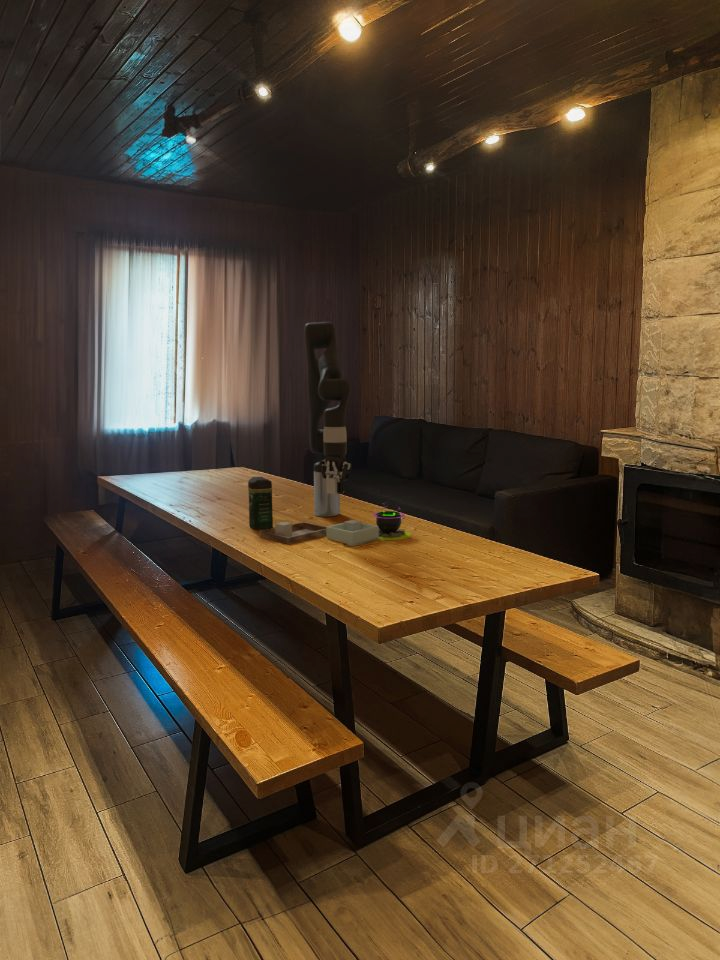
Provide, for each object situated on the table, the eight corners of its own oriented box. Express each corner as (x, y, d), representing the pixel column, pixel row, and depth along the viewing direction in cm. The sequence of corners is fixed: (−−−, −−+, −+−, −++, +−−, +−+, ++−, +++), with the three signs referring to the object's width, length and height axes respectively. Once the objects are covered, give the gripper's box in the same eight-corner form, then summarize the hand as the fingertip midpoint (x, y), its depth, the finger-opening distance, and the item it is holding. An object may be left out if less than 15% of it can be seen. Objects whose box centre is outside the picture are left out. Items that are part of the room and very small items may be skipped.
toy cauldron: (416, 532, 246) (416, 501, 244) (401, 542, 232) (401, 509, 230) (377, 528, 252) (376, 498, 250) (359, 538, 238) (359, 505, 236)
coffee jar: (275, 530, 250) (274, 478, 247) (253, 532, 247) (252, 479, 244) (268, 524, 258) (267, 474, 255) (247, 526, 255) (245, 476, 252)
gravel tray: (303, 528, 251) (303, 521, 251) (331, 535, 241) (331, 527, 241) (260, 538, 238) (260, 531, 237) (288, 545, 228) (287, 538, 227)
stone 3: (352, 534, 240) (352, 519, 240) (361, 536, 238) (360, 521, 237) (344, 536, 238) (344, 521, 237) (352, 538, 235) (352, 523, 234)
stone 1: (282, 536, 238) (282, 521, 237) (292, 537, 236) (291, 523, 235) (275, 538, 235) (274, 523, 234) (284, 540, 233) (284, 525, 232)
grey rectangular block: (335, 491, 235) (335, 476, 234) (344, 492, 232) (343, 477, 231) (326, 492, 232) (326, 477, 231) (335, 494, 229) (334, 479, 229)
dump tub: (352, 533, 243) (352, 520, 243) (378, 539, 235) (378, 526, 234) (326, 540, 235) (326, 526, 234) (352, 546, 226) (352, 532, 226)
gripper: (358, 441, 227) (358, 493, 230) (329, 438, 237) (329, 489, 240) (341, 442, 222) (341, 496, 224) (312, 440, 232) (312, 491, 235)
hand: (335, 492), depth 232 cm, fingers closed on grey rectangular block, 4 cm apart
